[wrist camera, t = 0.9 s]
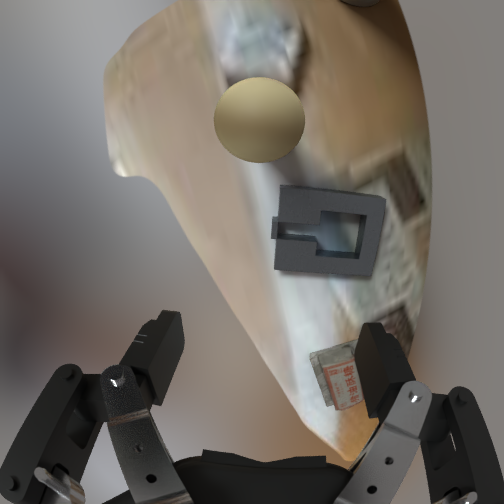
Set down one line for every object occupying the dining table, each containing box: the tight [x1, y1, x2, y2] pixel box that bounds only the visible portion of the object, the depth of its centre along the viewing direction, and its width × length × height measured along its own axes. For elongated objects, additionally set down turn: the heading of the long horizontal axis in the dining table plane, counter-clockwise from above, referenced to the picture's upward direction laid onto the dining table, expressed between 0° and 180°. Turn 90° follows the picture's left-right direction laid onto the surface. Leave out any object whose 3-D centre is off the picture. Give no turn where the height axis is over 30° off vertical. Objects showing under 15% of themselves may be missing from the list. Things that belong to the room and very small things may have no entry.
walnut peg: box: [214, 77, 305, 163], centre depth 25 cm, size 6×6×18 cm
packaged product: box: [310, 339, 364, 410], centre depth 47 cm, size 18×5×10 cm
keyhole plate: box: [271, 185, 386, 276], centre depth 37 cm, size 12×15×2 cm
